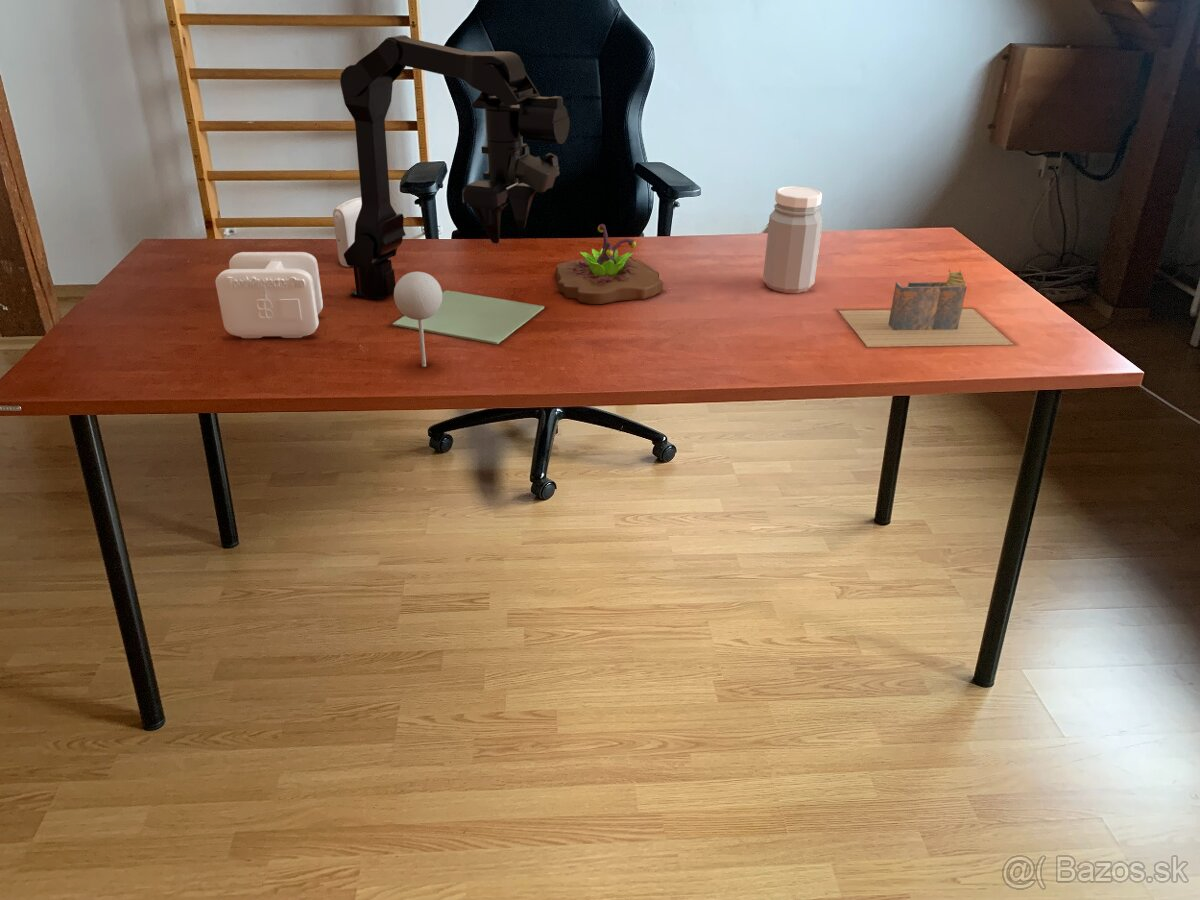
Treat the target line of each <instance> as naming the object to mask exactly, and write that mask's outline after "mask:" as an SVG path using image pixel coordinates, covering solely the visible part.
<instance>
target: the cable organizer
mask: <svg viewBox="0 0 1200 900" xmlns="http://www.w3.org/2000/svg"><path fill="white" fill-rule="evenodd" d="M228 266H229V268H228V269H225V270H223V271H221V272H220V273H219V274H218V275H217V277H216V278H215V283H214V284H215V287H216V292H217V297H218V298H217V299H218V304H219V308H220V313H221V319H222V323H223V328H224V329H225V331H226V332H227V333H228V334H230V335H232V336H235V337H240V338H242V339H261V338H263V337H281V338H283V339H300V338H303V337H307V336H310V335H313V334H314V333H315V332H316V331H317V329H318V327H319V324H320V323H319V322H320V320H319V315H320V313H321V312H322V310H323V308H324V302H323V294H322V287H321V286H322V285H321V279H320V271H319V265H318V260H317V258H316V257H315V256H314V255H313V254H311V253H309V252H305V251H241V252H237V253H235V254H234V255H233V256H232V257H231V258H230V259H229V261H228Z"/></svg>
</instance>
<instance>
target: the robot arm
mask: <svg viewBox="0 0 1200 900" xmlns="http://www.w3.org/2000/svg"><path fill="white" fill-rule="evenodd" d="M406 67H408V68H412V69H417V70H421V71H426V72H429V73H435V74H438V75H442V76H447V77H451V78H455V79H458V80H460V81H463V82H464V83H466V84H467V85H468V86H469V87H470V88H472V89H474V90H477V91H479V92H480V93H479V96H478V97H476V99H474V101H473V102H472V103H471V105H470V107H471V108H473V109H478V110H479V109H480V110H481V109H482V110H484V126H485V145H482V146H481V154H486V159H487V171H485V172H482V179H483V180H479V179H477V180H475V181H472V182H470V183H468V184H466V185H465V186H464V187H463V189H461V197H462V203H463V204H466V205H467V207H469V208H471V209H472V211H473V212H474V214H475V215H476V217H477V219H478V221H480V224H481V225H482V227H483V229H484V230H485V232H486V235H487V236H488V238H489V240H490V241H491V243H492V244H496V245H497V244H499V243H500V239H501V238H500V237H501V219H502V213H503V210H504V209H506V207H507V206H508V205H509V203H510V206H511V210H512V213H513V217H514V221H515V222H516V226H517V228H518V229H520V230H523V229H525V228H526V225H527V220H528V217H529V213H530V209H531V205H532V202H533V199H534V196H535V195H536V194H537V193H544V192H546V191H547V190H549V189H552V188H553V187H554V183H555V180H556V178H557V177H559V176H561V175H560V174H561V172H560V166H559V159H558V156H557V155H556V154H553V153H551V152H549V153H546V154H545V155H543V157H542V158H541V156H539V155H538V156H534V155H532V154H531V153H530V146H528V144H527V143H523V138H524V140H525V141H527V142H535V143H545V144H546V143H547V144H557V145H562V144H564V143H565V142H566V140H567V139H568V136H569V132H570V125H571V124H570V122H571V121H570V117H569V114H568V110H567V107H566V106H565V104H564V98H563V96H560V95H559V96H557V95H554V96H541V94H540V92H539V90H538V89H537V88H536V86H535V84H534V83H533V81H532V80H531V78H530V77H529V75H528V74H527V72H526V68H525V65H524V62H523V60H522V59H521V56H520V55H518V53H515V52H513V51H502V50H501V51H499V50H498V51H493V50H491V51H468V50H464V49H460V48H455V47H451V46H446V45H443V44H438V43H433V42H429V41H425V40H420V39H415V38H412V37H409V36H408V35H405V34H402V35H395V36H389V37H387V38H385V39H384V40H383V41H382V42H381V43H380V44H379V45H378V46H377V47H376V48H374V49H373V50H372V51H370V52H369V53H368V54H366V55H365V56H364V57H362V58H361V59H360V60H358V61H357V62H356V63H355V64H349V65H348V66H346V67H345V68H344V69H343V71H342V72H341V73H340V77H339V84H340V88H341V94H342V98H343V103H344V106H345V107H346V108H347V110H348V112H349V113H350V115H351V117H352V119H353V121H354V128H355V129H354V130H355V141H356V152H357V164H358V165H357V166H358V176H359V188H360V197H361V201H362V206H361V209H360V212H359V215H358V217H357V220H356V223H355V238H354V240H355V242H354V243H353V244H352V245H351V246H350V247H349V248H348V250H347V251H346V252H345V253H344V258H345V260H346V263H347V265H348V266H350V267H353V276H354V284H355V290H353V291H351V292H350V295H351V296H352V297H358V298H362V299H369V300H376V301H383V300H384V299H386V298H387V297H389V296H392V295H394V289H395V286H396V277H395V276H396V275H395V269H394V268H393V264H392V259H390V258H392V257H396V255H397V252H398V248H399V247H400V246H401V245H402V242H403V238H404V237H405V236H406V232H405V227H404V221H405V220H404V219H405V217H404V214H403V213H396V211H395V209H394V207H393V206H392V203H391V196H390V195H391V193H390V192H391V191H390V180H389V179H390V178H389V177H390V176H389V166H388V165H389V163H388V150H387V138H386V117H387V114H388V112H389V109H390V106H391V104H392V97H393V87H394V86H393V85H394V84H393V83H394V82H395V81H396V80H398V78H399V77H400V76H401V75H402V74H403V73H404V70H405V68H406ZM514 91H515V92H514ZM508 198H509V203H508V202H507V199H508Z"/></svg>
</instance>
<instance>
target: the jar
mask: <svg viewBox="0 0 1200 900" xmlns="http://www.w3.org/2000/svg"><path fill="white" fill-rule="evenodd" d="M822 198H823V193H822V192H821V190H818V189H816V188H813V187H807V186H801V185H799V186H798V185H797V186H796V185H790V186H782V187H780V188H778V189H775V198H774V201H775V204H774V205H773V207H774V210H773V211H772V212H771V213H770V214H769V218H768V228H767V236H766V247H765V254H764V255H765V257H764V266H763V274H762V275H763V276H762V279H763V282H764V284H765V285H766V287H767V288H769V289H770V290H773V291H775V292H780V293H784V294H798V293H804V292H806V291H808V290H809V289H810V288H812V286H813V285H815V282H816V274H817V265H818V259H819V251H820V244H821V237H822V230H823V222H824V220H823V218H822V216H821V214H820V213H819V212H821V208H820V205H822V202H823V201H822V200H823V199H822Z"/></svg>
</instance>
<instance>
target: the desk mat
mask: <svg viewBox="0 0 1200 900" xmlns="http://www.w3.org/2000/svg"><path fill="white" fill-rule="evenodd" d="M544 309H545V305H538V304H534V303H533V304H532V303H526V302H521V301H516V300H509V299H503V298H496V297H491V296H485V295H479V294H472V293H466V292H460V291H455V290H448V289H446V290H444V291H442V302H441V305H440V308H439V309H438V311H437V312H436V313H435V314H434V315H433V316H431V317H429V318H427V319H422V321H423V332H426V333H433V334H438V335H443V336H449V337H454V338H460V339H464V340H471V341H477V342H481V343H486V344H487V343H488V344H492V345H499V344H500V343H501V342H502V341H504V340H505V339H506V338H508V337H509V336H511V334H513V333H514V332H515V331H516V330H518V329H519V328H520V327H522V326H523V325H524V324H526V323H527V322H528V321H530V320H531V319H533V318H534V317H535V316H536V315H538V314H539V313H541V312H542V311H543V310H544ZM392 326H393V327H394V326H395V327H400V328H404V329H411V330H414V331H415V330H416V331H419V325H418V320H415V319H411V318H408V317H407V316H405V315H403V316H402V317H401V318H399V319H397V320H395V321H394V322H392Z"/></svg>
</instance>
